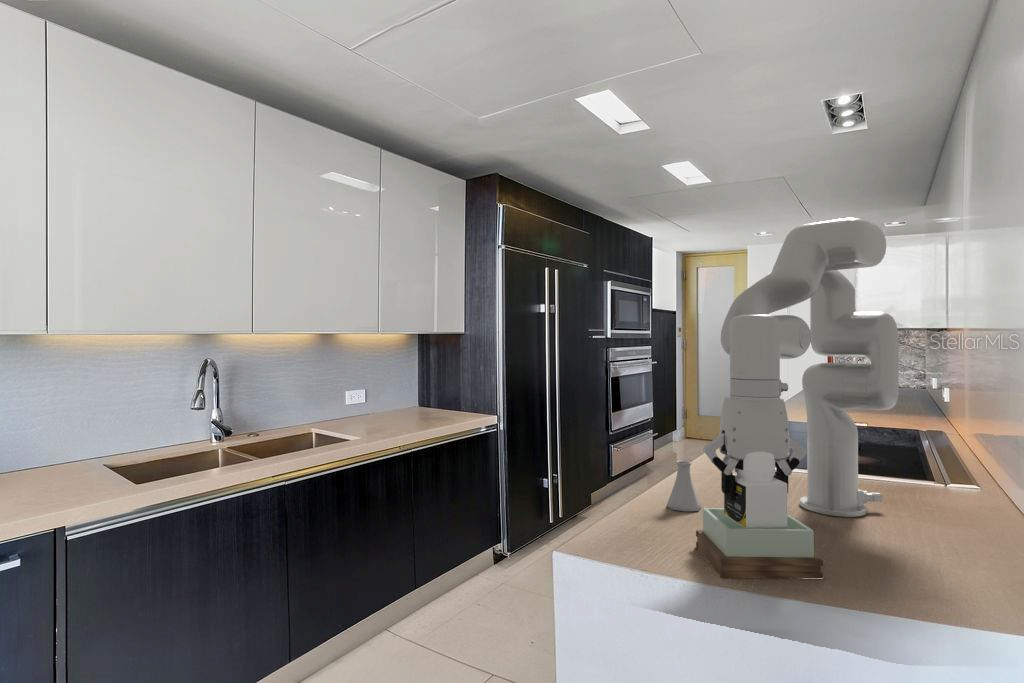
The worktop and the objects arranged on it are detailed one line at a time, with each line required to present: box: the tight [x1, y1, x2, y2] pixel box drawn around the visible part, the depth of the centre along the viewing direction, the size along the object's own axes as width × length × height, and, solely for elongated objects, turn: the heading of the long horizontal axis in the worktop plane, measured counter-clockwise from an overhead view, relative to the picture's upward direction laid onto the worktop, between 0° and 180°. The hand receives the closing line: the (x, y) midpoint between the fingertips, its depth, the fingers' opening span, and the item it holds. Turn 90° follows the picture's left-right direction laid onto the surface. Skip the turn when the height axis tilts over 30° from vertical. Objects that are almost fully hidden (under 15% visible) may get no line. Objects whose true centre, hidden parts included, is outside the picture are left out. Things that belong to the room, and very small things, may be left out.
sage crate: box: [702, 507, 815, 558], centre depth 89 cm, size 13×11×4 cm
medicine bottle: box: [723, 452, 788, 529], centre depth 89 cm, size 7×7×12 cm
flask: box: [666, 460, 702, 512], centre depth 119 cm, size 7×7×10 cm
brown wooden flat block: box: [695, 529, 824, 580], centre depth 89 cm, size 15×13×3 cm
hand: (754, 497), depth 89 cm, fingers closed on medicine bottle, 7 cm apart
